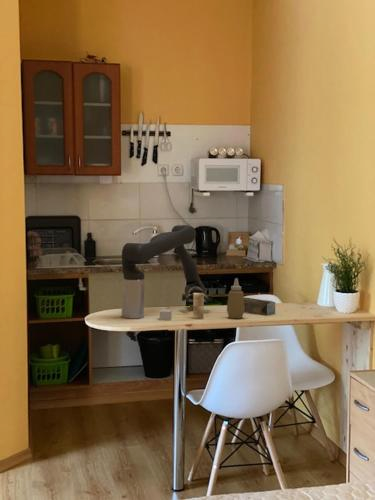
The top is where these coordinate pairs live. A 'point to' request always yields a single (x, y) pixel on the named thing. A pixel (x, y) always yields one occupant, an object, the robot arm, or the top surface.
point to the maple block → (198, 305)
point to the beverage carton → (259, 306)
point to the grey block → (165, 314)
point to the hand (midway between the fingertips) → (197, 299)
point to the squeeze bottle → (235, 301)
